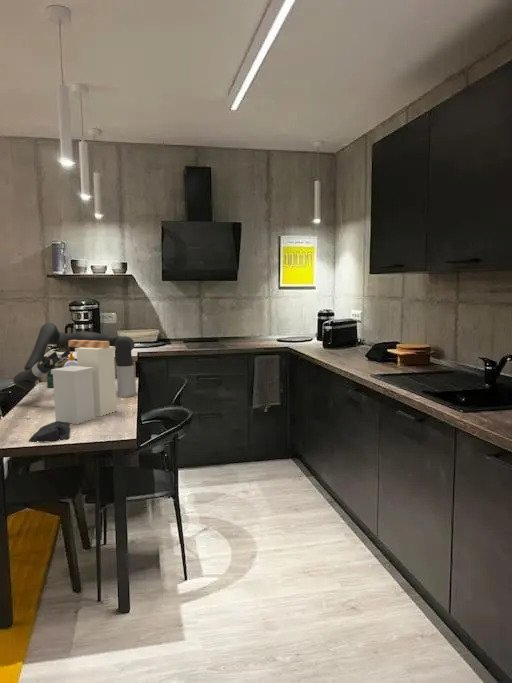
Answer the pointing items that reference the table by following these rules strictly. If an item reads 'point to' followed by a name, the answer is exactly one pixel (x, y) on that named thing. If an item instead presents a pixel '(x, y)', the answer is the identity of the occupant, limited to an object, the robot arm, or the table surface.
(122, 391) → the robot arm
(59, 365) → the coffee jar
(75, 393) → the block
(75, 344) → the board
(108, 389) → the stand
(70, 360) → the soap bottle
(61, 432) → the dark slate chunk
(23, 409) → the table surface
